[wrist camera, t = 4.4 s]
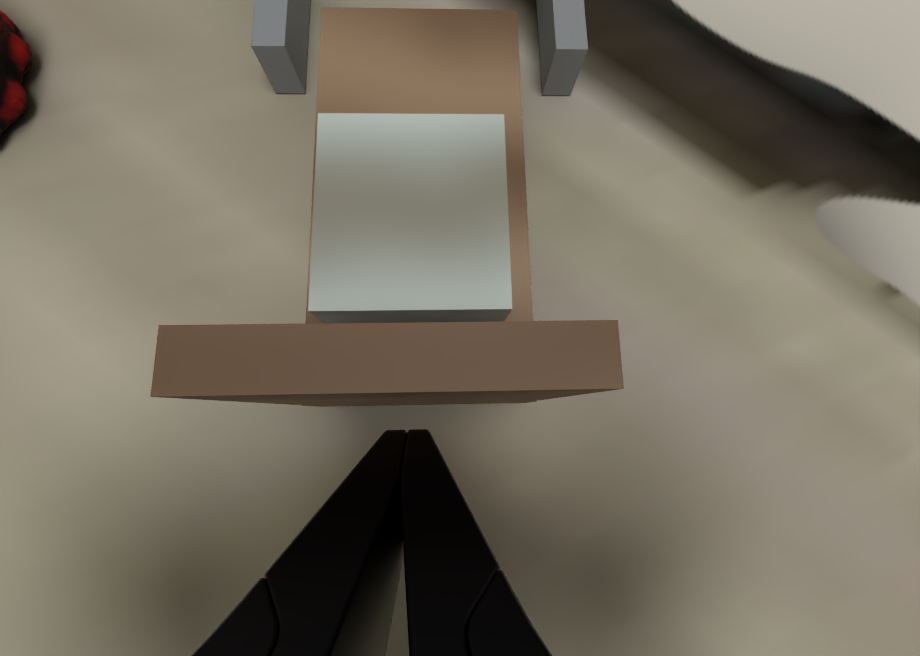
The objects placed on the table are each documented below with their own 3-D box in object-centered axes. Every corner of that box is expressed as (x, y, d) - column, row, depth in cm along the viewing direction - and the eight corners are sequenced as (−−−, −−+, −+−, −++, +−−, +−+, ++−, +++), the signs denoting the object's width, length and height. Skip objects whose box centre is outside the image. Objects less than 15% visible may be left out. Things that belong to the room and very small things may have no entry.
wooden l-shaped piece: (520, 403, 16) (637, 388, 6) (328, 406, 16) (136, 397, 6) (505, 73, 19) (571, -302, 9) (341, 71, 18) (223, -315, 9)
